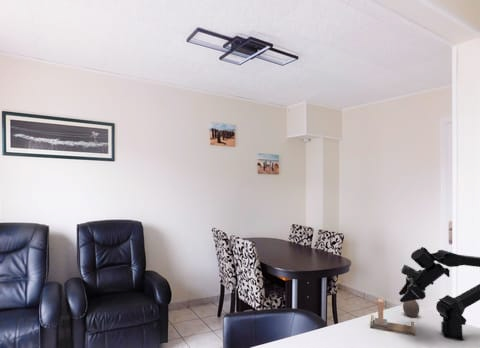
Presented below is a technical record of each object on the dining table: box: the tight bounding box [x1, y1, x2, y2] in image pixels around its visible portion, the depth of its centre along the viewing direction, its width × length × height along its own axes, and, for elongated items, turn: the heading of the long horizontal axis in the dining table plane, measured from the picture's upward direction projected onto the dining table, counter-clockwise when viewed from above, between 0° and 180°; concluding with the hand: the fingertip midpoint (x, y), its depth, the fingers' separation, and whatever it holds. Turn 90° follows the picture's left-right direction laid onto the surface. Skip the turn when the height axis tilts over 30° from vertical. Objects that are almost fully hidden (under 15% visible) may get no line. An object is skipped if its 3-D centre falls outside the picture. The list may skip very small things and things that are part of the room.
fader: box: [374, 298, 388, 327], centre depth 141 cm, size 5×6×10 cm
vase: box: [402, 300, 420, 318], centre depth 153 cm, size 7×7×9 cm
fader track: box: [370, 314, 416, 337], centre depth 139 cm, size 17×7×3 cm, turn 66°
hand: (400, 297), depth 139 cm, fingers open, 9 cm apart
